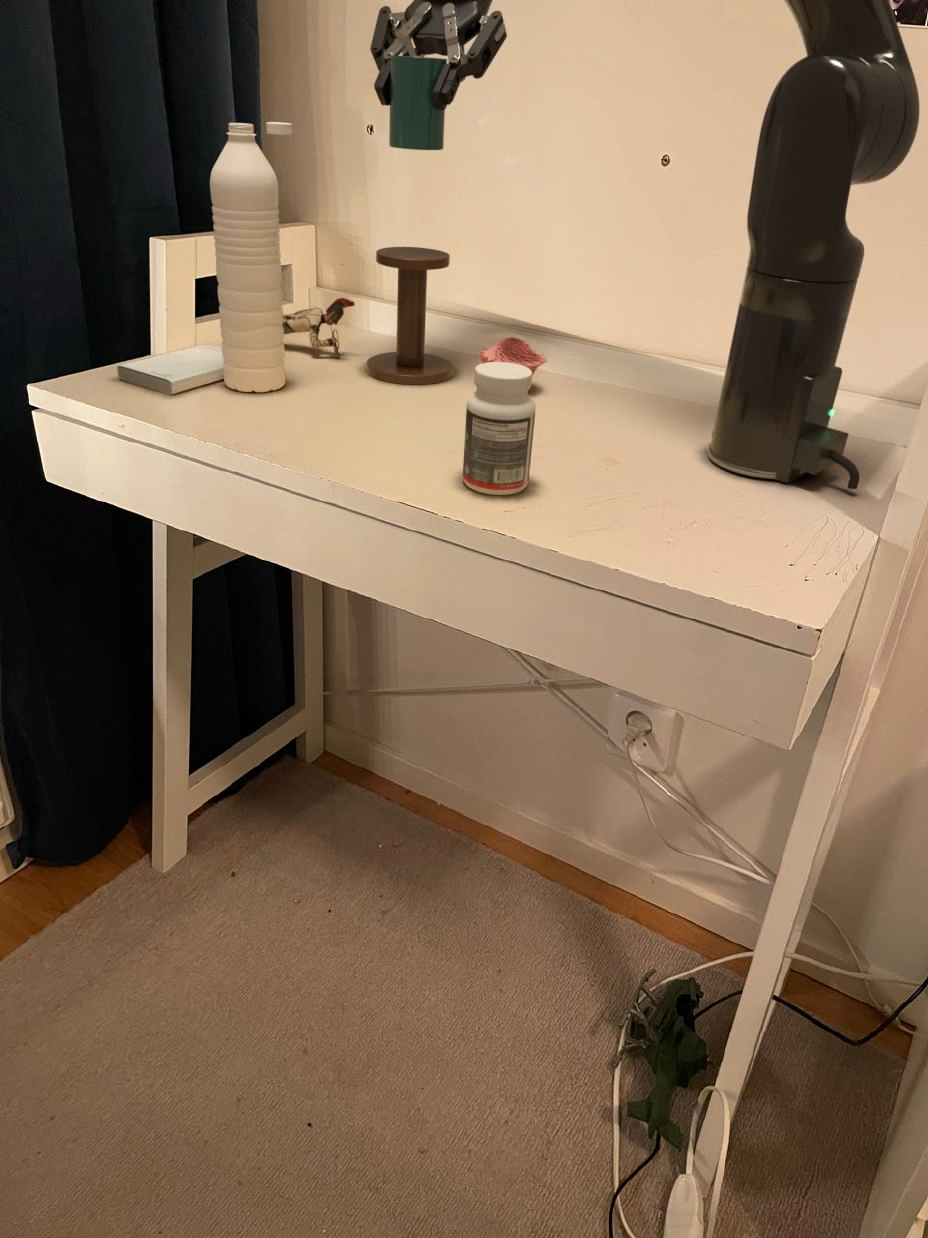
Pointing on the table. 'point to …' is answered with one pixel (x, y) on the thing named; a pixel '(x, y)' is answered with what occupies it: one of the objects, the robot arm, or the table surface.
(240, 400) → the table surface
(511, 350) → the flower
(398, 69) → the cylinder
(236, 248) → the water bottle
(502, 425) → the pill bottle
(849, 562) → the table surface
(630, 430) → the table surface
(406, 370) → the pedestal stand
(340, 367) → the table surface
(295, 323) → the figurine
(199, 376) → the hard drive
